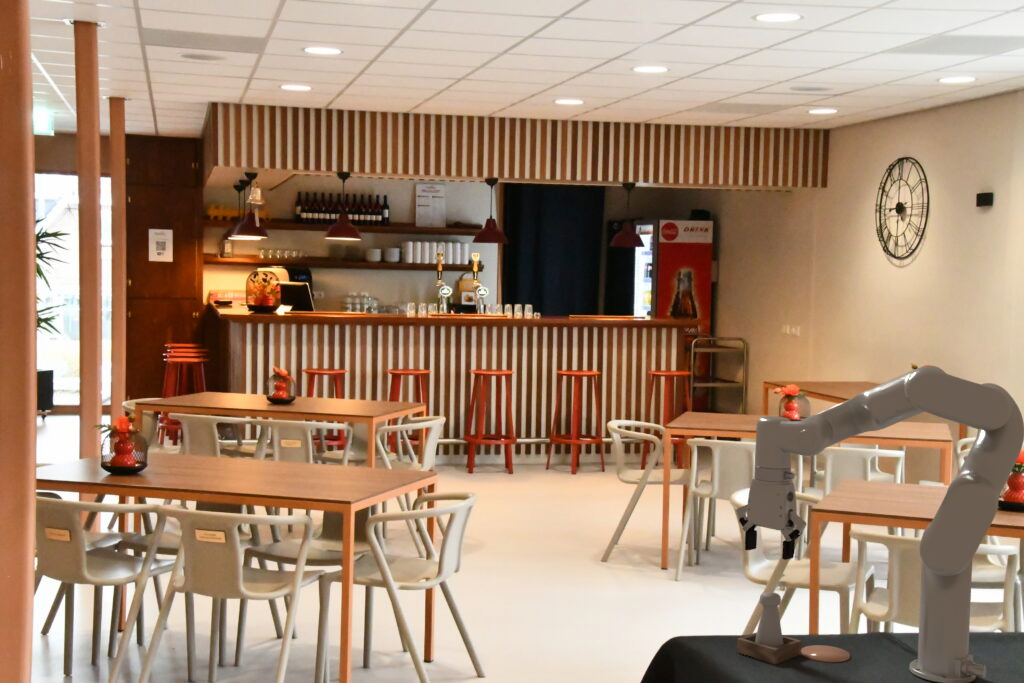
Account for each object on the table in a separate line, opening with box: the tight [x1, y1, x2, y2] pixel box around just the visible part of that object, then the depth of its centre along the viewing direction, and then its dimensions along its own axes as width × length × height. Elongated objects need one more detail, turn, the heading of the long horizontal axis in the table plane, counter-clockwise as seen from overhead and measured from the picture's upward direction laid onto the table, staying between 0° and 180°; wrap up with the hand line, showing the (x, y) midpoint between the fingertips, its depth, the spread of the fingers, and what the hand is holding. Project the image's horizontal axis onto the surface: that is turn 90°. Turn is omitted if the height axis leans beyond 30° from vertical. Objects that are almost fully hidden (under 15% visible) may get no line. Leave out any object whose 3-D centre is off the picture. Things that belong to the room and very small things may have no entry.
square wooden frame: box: [736, 631, 802, 665], centre depth 241 cm, size 10×10×3 cm
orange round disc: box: [801, 644, 851, 663], centre depth 241 cm, size 10×10×1 cm
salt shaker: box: [755, 591, 783, 648], centre depth 241 cm, size 6×6×13 cm
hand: (768, 554), depth 243 cm, fingers open, 9 cm apart
